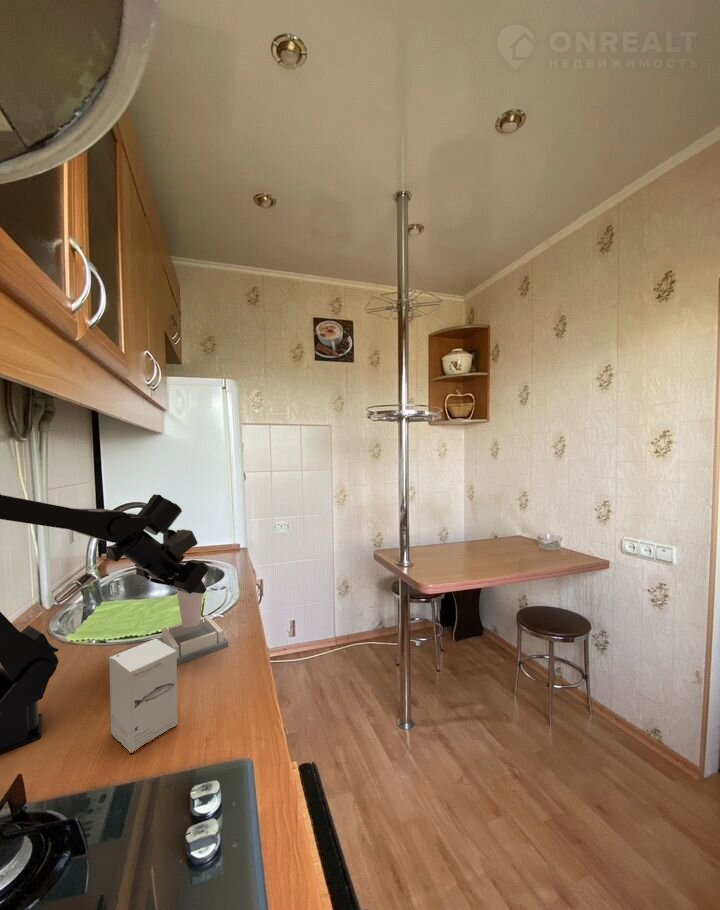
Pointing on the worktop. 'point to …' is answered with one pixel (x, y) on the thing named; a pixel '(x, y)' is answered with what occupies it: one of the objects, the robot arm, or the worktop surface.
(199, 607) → the smoothie
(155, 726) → the supplement box
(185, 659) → the bottle holder
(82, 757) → the worktop surface
